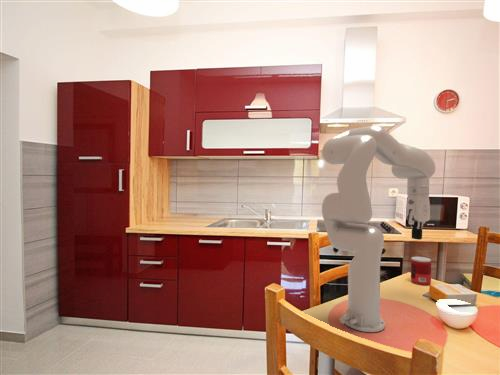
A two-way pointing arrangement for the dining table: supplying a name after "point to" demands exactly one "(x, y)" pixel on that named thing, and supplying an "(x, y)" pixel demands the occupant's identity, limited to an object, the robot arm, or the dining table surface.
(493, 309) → the dining table surface
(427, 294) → the grey rubber mat
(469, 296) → the supplement box
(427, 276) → the canned food
